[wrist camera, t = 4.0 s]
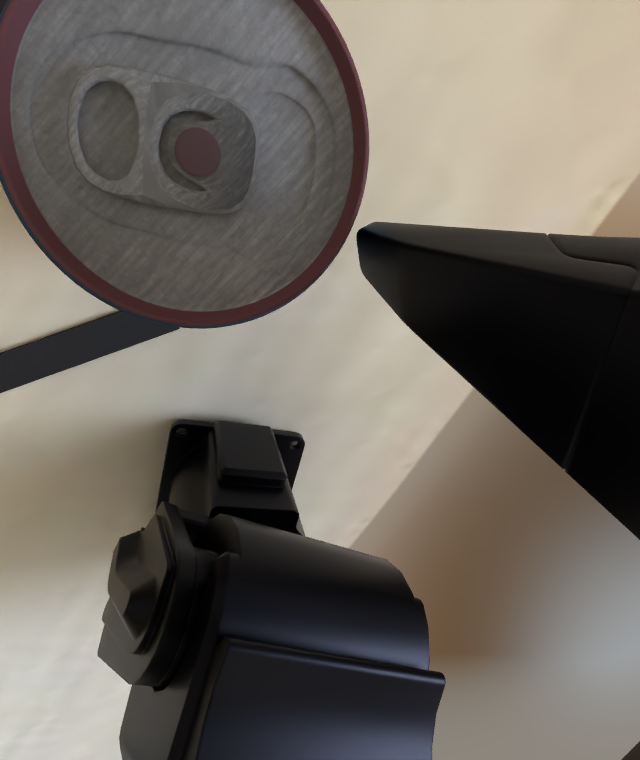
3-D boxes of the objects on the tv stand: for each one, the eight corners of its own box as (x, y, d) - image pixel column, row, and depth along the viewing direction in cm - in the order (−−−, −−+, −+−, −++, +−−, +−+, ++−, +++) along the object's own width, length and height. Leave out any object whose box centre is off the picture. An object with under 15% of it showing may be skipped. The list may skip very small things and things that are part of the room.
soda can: (296, 80, 18) (456, -39, 7) (265, 265, 20) (351, 376, 10) (93, 20, 16) (-95, -274, 5) (87, 234, 18) (-50, 334, 8)
